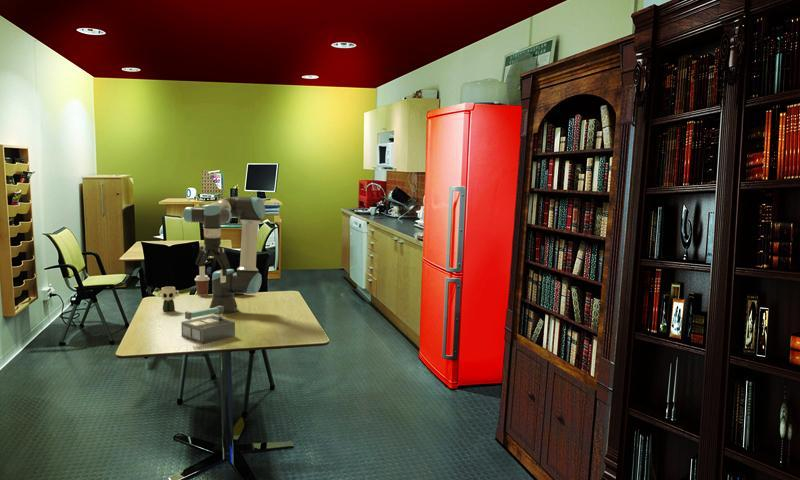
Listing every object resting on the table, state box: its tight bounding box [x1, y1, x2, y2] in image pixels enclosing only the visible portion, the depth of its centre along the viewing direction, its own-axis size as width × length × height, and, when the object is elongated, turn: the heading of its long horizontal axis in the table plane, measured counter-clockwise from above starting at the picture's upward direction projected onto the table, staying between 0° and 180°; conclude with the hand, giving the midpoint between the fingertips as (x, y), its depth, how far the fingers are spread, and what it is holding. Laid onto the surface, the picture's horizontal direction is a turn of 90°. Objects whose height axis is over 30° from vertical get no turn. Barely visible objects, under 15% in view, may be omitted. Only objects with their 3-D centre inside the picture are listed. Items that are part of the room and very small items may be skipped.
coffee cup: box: [194, 274, 211, 297], centre depth 356 cm, size 9×9×12 cm
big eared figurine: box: [157, 286, 180, 312], centre depth 313 cm, size 11×7×13 cm, turn 108°
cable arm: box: [184, 306, 224, 321], centre depth 264 cm, size 19×3×3 cm, turn 142°
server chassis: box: [181, 313, 236, 345], centre depth 266 cm, size 18×17×10 cm
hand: (212, 281), depth 270 cm, fingers open, 13 cm apart
